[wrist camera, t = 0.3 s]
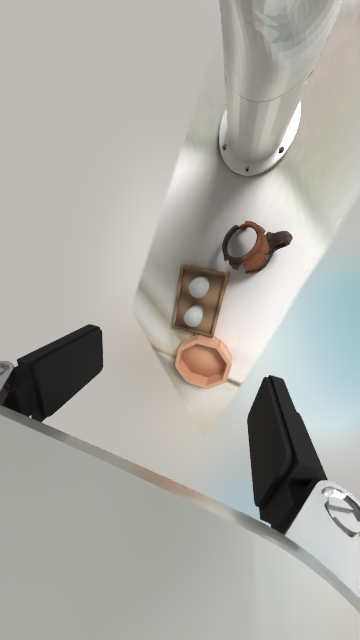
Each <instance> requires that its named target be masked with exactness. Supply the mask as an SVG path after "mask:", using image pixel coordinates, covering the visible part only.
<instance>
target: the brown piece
mask: <svg viewBox="0 0 360 640" xmlns="http://www.w3.org/2000/svg"><path fill="white" fill-rule="evenodd" d="M248 227H251V228H253V229H254V230H255V231H256V233H257V240H256V243H255V245H254V247H253V249H252V250H251V251H250V252H249V253H248V254H246V255H244V256H242V257H238V258H235V257H232V256H230V255H229V254H228V251H227V245H228V242H229V240H230V238H231V236H232V235H233V234H234V233H235V232H236V231H238V230H239V229H240V230H244V229H246V228H248ZM264 232H265V230H264V229H263V228H262V227H261V226H259V225H257V224H256V223H254V222H251V221H246V222H245V224H242V225H240V226H237V225H235V226H233V227H232V228H231V229H230V230H229V231H228V233H227V234H226V236H225V238H224V241H223V244H222V251H223V254H224V260H225V261H227V260H229V264H230V265H231V266H232V268H233V269H235V270H238V269H239V268H238V267H239V266H240V265H241V264H242V263H243V262H244V266H245V270H247V271H246V274H253V273H256V272H259V271H261V270H262V269H263V268H265V266H266V265H267V264H268V263H269V260H270V259H271V257H272V255H273V253H274V252H275V251H276V250H278V249H280V248H283V247H285V246H287V245H289V244H290V242H291V240H292V235H291V234H290V233H289V232H287V231H281V232H276V233H271V232H268V233H267V234H266V236H265V235H264ZM268 252H269V254H267V253H268ZM250 270H252V271H250Z"/></svg>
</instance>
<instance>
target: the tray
mask: <svg viewBox="0 0 360 640" xmlns="http://www.w3.org/2000/svg"><path fill="white" fill-rule="evenodd" d="M202 275H203V276H206V277H208V278H209V280H210V282H211V286H210V288H209V290H208V291H207V293H206V294H205V296H203V297H201V298H195V297H193V296H192V295H191V294H190V292H189V285H190V283H191V282H192V281H193V280H194V279H196V278H197V277H198V276H202ZM228 277H229V273H225V272H220V271H215V270H209V269H204V268H199V267H193V266H188V265H181V269H180V276H179V283H178V290H177V297H176V304H175V311H174V318H173V325H172V327H175V328H179V329H183V330H186V331H190V332H194V333H198V334H201V335H205V336H209V337H213V335H214V331H215V327H216V323H217V320H218V316H219V312H220V308H221V304H222V300H223V296H224V292H225V288H226V284H227V281H228ZM193 304H200V305H202V306H203V307H204V310H205V313H204V316H203V318H202V320H201V322H200V324H199V325H198V326H196V327H190V326H188V325H187V324H186V323H185V321H184V315H185V313H186V312H187V310H188V309H189V308H190V307H191V305H193Z"/></svg>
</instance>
